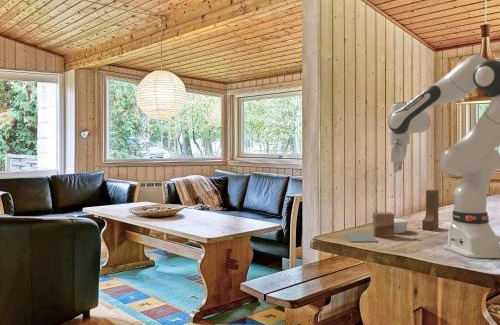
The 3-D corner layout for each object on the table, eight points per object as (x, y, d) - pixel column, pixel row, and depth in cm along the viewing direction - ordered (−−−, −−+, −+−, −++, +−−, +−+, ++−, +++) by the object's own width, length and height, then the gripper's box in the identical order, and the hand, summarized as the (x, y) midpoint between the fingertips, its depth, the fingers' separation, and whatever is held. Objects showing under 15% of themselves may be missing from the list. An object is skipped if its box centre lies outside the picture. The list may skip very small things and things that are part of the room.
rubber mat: (378, 242, 184) (378, 241, 184) (351, 242, 184) (351, 241, 184) (368, 234, 200) (368, 233, 200) (343, 234, 200) (343, 233, 200)
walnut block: (394, 236, 194) (394, 213, 193) (375, 237, 194) (375, 214, 194) (391, 235, 198) (391, 212, 197) (372, 235, 198) (372, 212, 198)
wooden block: (431, 230, 206) (432, 191, 205) (421, 229, 209) (422, 191, 208) (438, 227, 212) (438, 189, 212) (428, 226, 215) (429, 189, 215)
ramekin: (391, 234, 199) (391, 222, 199) (377, 230, 210) (377, 218, 209) (413, 233, 202) (413, 221, 202) (398, 228, 213) (398, 217, 212)
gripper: (403, 141, 187) (402, 174, 188) (409, 138, 205) (408, 169, 207) (387, 140, 190) (386, 173, 191) (395, 138, 208) (394, 168, 209)
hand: (397, 171), depth 199 cm, fingers open, 8 cm apart
